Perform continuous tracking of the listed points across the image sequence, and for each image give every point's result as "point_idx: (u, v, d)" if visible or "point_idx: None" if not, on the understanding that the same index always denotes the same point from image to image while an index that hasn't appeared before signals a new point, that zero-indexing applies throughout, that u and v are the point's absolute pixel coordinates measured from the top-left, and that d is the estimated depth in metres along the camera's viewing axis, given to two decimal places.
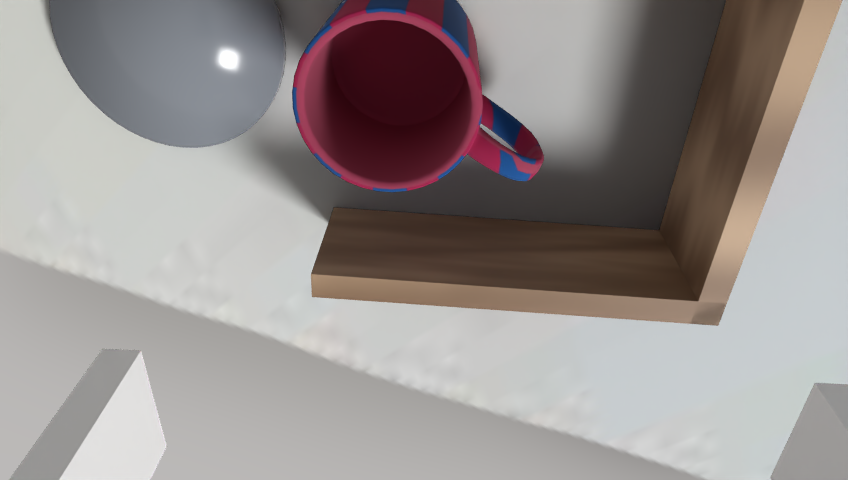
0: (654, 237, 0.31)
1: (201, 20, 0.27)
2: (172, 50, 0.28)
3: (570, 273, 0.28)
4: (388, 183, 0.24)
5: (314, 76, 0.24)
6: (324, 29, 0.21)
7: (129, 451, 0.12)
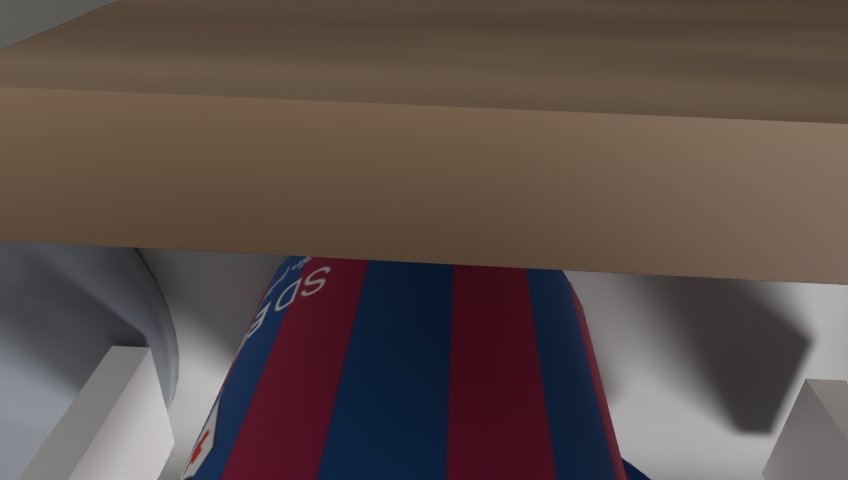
0: None
1: None
2: None
3: None
4: None
5: None
6: None
7: (139, 447, 0.12)
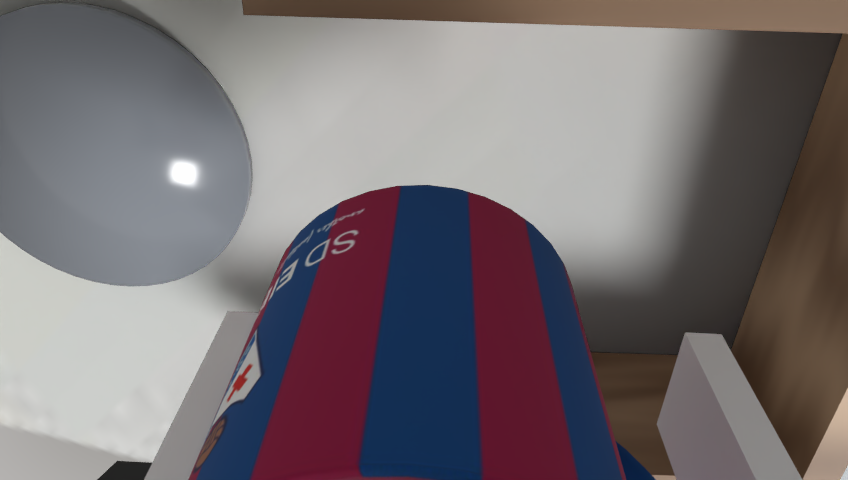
0: None
1: (139, 137, 0.21)
2: (105, 174, 0.21)
3: (630, 440, 0.22)
4: None
5: None
6: None
7: None
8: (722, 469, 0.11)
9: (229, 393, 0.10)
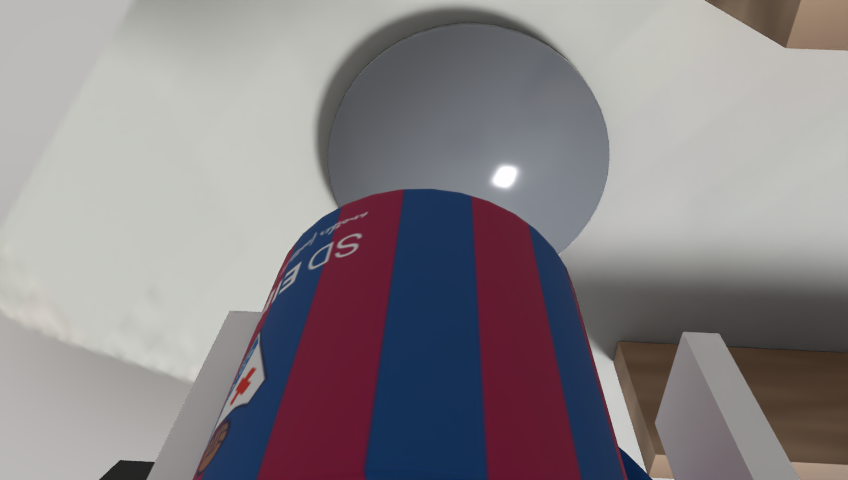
0: None
1: (513, 148, 0.22)
2: (470, 181, 0.23)
3: None
4: None
5: None
6: None
7: None
8: (720, 468, 0.11)
9: (232, 396, 0.09)
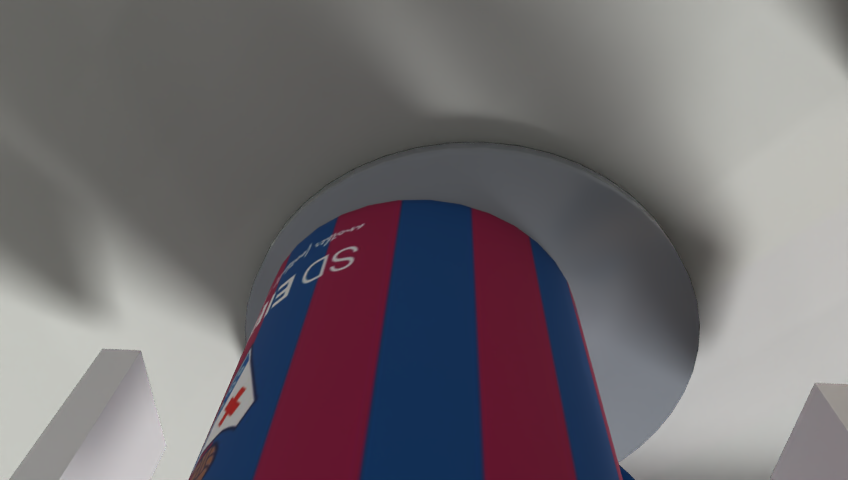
0: None
1: None
2: None
3: None
4: None
5: None
6: None
7: (129, 451, 0.12)
8: None
9: (221, 417, 0.09)
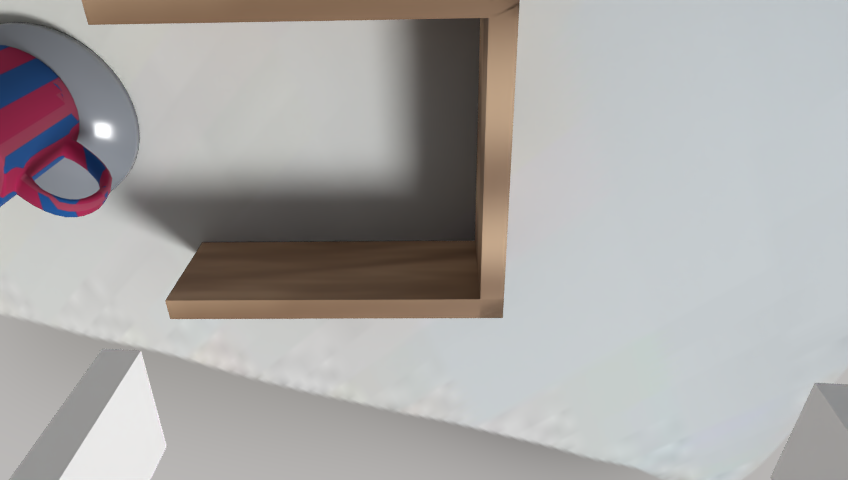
0: (467, 247, 0.37)
1: None
2: None
3: (382, 284, 0.34)
4: None
5: None
6: None
7: (129, 451, 0.12)
8: None
9: None
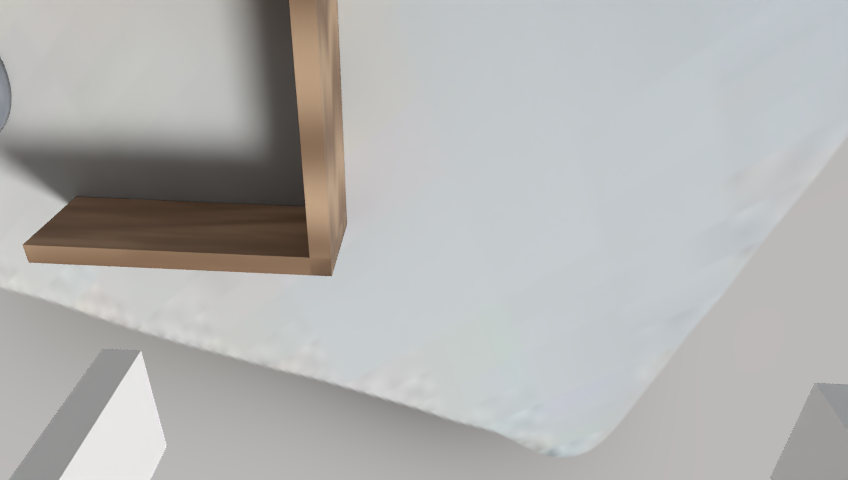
0: None
1: None
2: None
3: (226, 240, 0.37)
4: None
5: None
6: None
7: (129, 451, 0.12)
8: None
9: None
